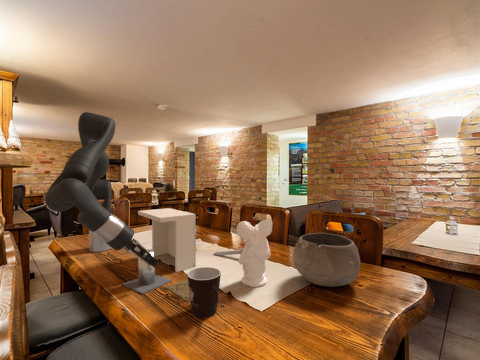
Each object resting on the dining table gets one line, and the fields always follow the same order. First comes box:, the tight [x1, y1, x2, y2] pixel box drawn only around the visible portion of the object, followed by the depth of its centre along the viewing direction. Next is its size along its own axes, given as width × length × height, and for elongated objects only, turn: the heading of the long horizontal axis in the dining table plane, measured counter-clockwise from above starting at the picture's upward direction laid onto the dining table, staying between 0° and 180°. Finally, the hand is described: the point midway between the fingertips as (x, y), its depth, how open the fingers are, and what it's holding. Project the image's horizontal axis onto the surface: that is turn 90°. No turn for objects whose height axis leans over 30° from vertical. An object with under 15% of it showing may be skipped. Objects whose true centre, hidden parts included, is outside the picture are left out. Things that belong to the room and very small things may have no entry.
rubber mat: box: [121, 273, 173, 295], centre depth 81 cm, size 11×11×1 cm
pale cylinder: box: [137, 248, 156, 285], centre depth 81 cm, size 5×5×10 cm
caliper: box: [212, 248, 244, 256], centre depth 107 cm, size 20×1×6 cm, turn 67°
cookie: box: [164, 278, 190, 301], centre depth 78 cm, size 12×12×1 cm
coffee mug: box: [186, 266, 222, 319], centre depth 62 cm, size 12×9×10 cm
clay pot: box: [292, 232, 361, 288], centre depth 81 cm, size 21×21×15 cm
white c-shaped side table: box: [137, 207, 197, 273], centre depth 100 cm, size 24×14×21 cm, turn 40°
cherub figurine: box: [236, 216, 274, 288], centre depth 84 cm, size 12×12×22 cm
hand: (151, 261), depth 82 cm, fingers open, 7 cm apart
